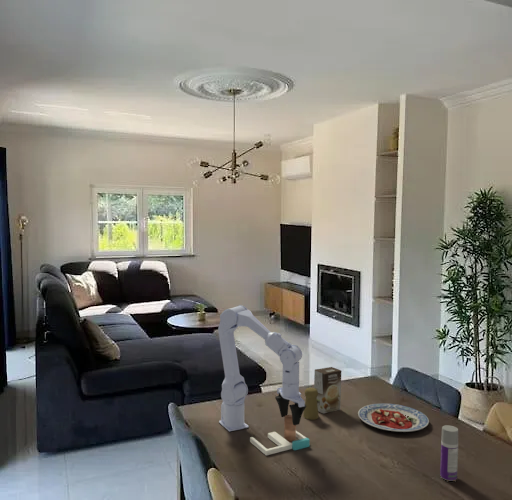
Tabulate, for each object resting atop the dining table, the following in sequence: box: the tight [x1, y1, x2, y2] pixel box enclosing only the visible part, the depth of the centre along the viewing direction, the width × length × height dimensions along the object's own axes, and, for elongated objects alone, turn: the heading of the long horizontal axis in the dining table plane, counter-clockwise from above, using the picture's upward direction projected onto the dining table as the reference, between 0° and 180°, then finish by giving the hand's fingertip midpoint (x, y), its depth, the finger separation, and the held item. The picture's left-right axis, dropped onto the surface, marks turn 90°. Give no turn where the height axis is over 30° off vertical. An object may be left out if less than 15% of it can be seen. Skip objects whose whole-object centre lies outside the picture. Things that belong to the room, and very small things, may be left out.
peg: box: [283, 414, 297, 443], centre depth 167 cm, size 4×4×8 cm
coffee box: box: [313, 366, 342, 414], centre depth 195 cm, size 9×6×16 cm
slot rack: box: [249, 430, 311, 456], centre depth 164 cm, size 12×17×2 cm
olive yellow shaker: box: [302, 387, 320, 421], centre depth 187 cm, size 6×6×11 cm
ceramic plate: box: [357, 403, 430, 433], centre depth 184 cm, size 26×26×3 cm
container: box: [439, 424, 459, 481], centre depth 143 cm, size 5×5×15 cm
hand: (290, 420), depth 167 cm, fingers open, 7 cm apart
